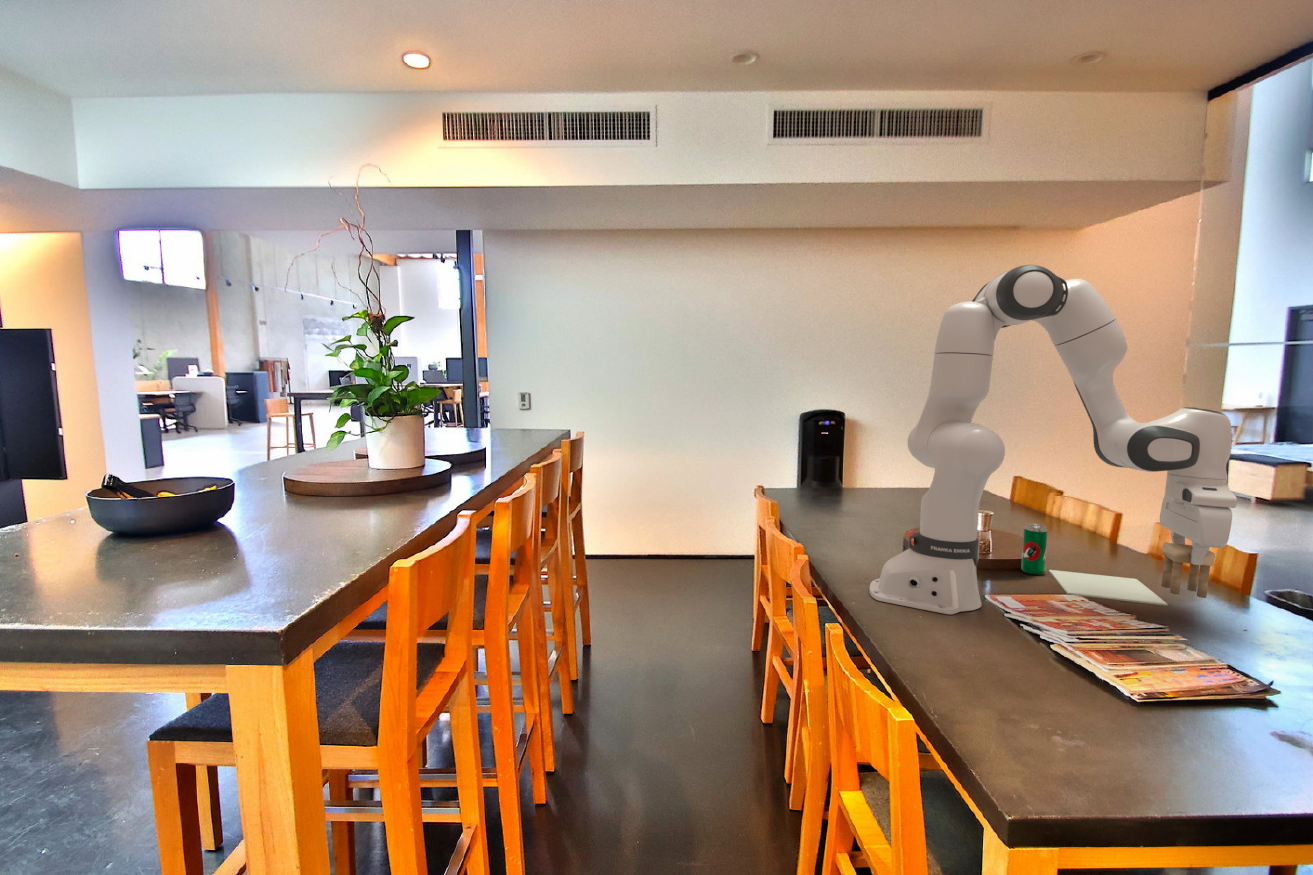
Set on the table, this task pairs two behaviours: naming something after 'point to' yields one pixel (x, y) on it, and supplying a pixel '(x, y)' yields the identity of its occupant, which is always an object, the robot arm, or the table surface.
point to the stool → (1175, 560)
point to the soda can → (1034, 549)
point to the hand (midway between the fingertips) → (1186, 559)
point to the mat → (1106, 587)
